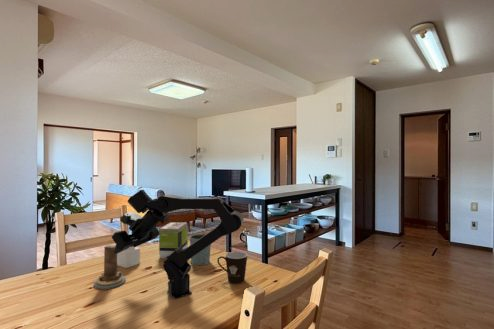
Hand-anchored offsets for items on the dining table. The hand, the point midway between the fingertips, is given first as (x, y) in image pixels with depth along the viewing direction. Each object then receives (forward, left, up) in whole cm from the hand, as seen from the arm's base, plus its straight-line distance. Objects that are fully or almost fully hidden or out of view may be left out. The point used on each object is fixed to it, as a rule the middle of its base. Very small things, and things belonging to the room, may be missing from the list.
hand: (124, 249), depth 103 cm
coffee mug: (-35, +22, -14) cm, 43 cm away
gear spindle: (+3, -6, -12) cm, 14 cm away
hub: (+3, -6, -13) cm, 15 cm away
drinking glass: (-36, -4, -14) cm, 38 cm away
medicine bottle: (-9, -22, -14) cm, 28 cm away
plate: (+3, -6, -13) cm, 15 cm away
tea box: (-32, -23, -14) cm, 42 cm away
